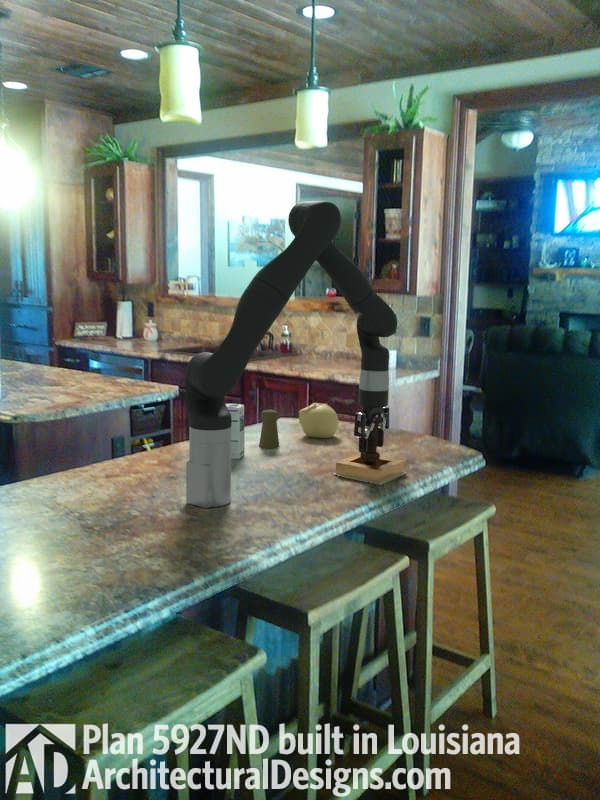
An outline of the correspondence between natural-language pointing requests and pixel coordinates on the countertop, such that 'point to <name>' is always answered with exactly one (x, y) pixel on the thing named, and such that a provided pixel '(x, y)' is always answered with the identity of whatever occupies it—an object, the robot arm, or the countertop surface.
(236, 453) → the syrup box
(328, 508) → the countertop surface
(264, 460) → the countertop surface
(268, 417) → the cork
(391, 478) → the receiver
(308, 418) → the sculpture
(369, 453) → the bolt
